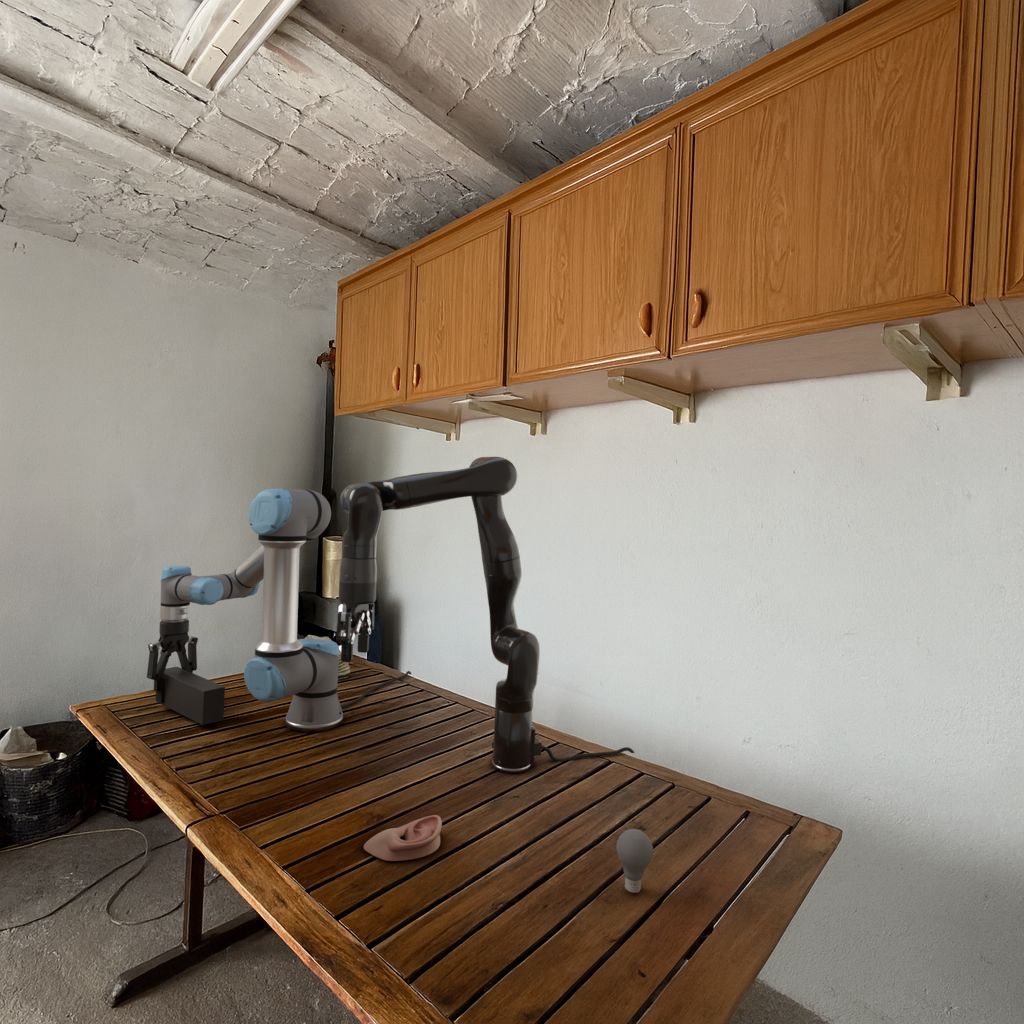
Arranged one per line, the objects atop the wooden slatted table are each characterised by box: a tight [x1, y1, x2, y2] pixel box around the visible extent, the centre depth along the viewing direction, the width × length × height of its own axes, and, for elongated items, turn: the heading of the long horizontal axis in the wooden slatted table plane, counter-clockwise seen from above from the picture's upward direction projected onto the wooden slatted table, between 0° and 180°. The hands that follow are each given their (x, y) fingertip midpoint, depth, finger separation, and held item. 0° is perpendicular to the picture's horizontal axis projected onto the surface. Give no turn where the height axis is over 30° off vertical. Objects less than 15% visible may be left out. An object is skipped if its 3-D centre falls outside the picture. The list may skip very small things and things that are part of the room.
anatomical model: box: [363, 814, 443, 862], centre depth 116 cm, size 13×4×12 cm
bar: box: [157, 666, 226, 726], centre depth 177 cm, size 27×6×9 cm, turn 53°
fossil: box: [304, 634, 351, 680], centre depth 218 cm, size 9×18×15 cm, turn 132°
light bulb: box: [615, 828, 654, 894], centre depth 106 cm, size 6×6×10 cm
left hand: (171, 698), depth 183 cm, fingers closed on bar, 6 cm apart
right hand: (355, 656), depth 132 cm, fingers open, 8 cm apart
